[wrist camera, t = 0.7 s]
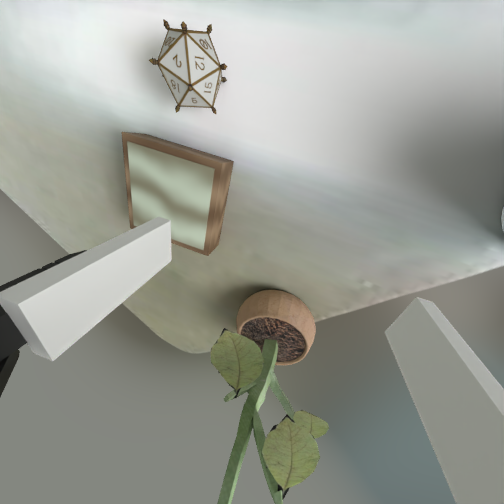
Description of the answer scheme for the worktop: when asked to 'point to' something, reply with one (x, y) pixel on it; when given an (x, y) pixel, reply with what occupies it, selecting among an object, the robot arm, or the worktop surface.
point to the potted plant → (257, 381)
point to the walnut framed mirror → (176, 189)
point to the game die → (190, 67)
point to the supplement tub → (502, 219)
